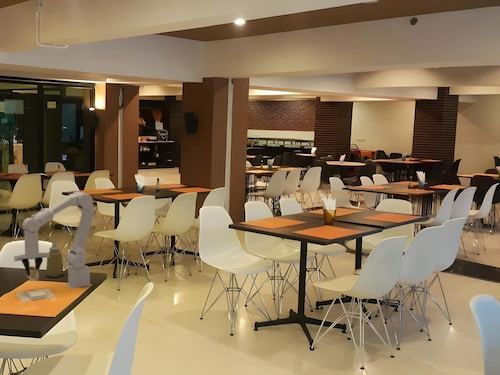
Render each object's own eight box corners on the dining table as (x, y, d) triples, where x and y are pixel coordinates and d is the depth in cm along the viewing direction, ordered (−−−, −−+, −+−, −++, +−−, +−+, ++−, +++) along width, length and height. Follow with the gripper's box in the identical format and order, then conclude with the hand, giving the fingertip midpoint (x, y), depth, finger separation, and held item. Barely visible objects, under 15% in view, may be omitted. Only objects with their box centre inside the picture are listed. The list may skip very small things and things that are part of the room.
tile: (41, 289, 249) (46, 294, 241) (41, 293, 249) (46, 298, 242) (27, 291, 245) (32, 296, 238) (27, 295, 246) (32, 300, 238)
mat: (48, 289, 255) (47, 288, 255) (56, 297, 244) (56, 296, 244) (15, 294, 247) (15, 293, 247) (22, 303, 236) (22, 302, 236)
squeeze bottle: (66, 274, 282) (65, 239, 280) (59, 278, 274) (58, 242, 272) (51, 273, 283) (50, 238, 281) (43, 277, 275) (42, 241, 273)
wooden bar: (33, 275, 254) (33, 265, 253) (38, 280, 246) (38, 270, 245) (26, 276, 252) (26, 266, 252) (31, 281, 244) (31, 271, 243)
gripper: (46, 241, 254) (47, 270, 256) (12, 245, 246) (13, 275, 248) (50, 244, 249) (51, 274, 250) (15, 248, 241) (16, 278, 242)
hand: (32, 275), depth 249 cm, fingers closed on wooden bar, 3 cm apart
